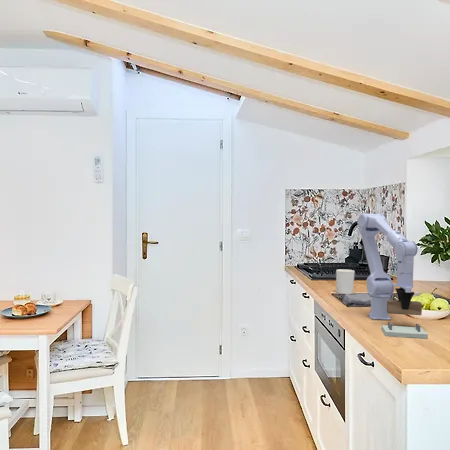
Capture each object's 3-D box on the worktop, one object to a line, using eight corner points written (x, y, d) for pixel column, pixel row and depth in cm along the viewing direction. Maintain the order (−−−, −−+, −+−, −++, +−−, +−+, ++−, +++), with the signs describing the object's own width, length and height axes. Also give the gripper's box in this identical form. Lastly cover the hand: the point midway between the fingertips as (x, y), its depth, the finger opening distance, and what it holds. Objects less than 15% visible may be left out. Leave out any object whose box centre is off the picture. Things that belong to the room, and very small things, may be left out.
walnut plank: (386, 311, 187) (387, 299, 187) (419, 313, 185) (419, 301, 185) (388, 313, 183) (388, 301, 183) (421, 315, 181) (421, 303, 181)
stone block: (373, 308, 227) (366, 300, 237) (374, 299, 226) (367, 291, 236) (349, 309, 227) (342, 300, 236) (349, 299, 225) (343, 291, 235)
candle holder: (331, 292, 257) (332, 270, 257) (341, 290, 265) (341, 268, 264) (348, 295, 251) (349, 272, 250) (357, 292, 258) (358, 270, 258)
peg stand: (381, 329, 180) (381, 319, 179) (421, 331, 177) (421, 322, 177) (385, 336, 170) (386, 326, 170) (427, 338, 167) (427, 328, 167)
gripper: (391, 270, 191) (390, 303, 192) (397, 275, 177) (396, 311, 178) (409, 270, 190) (408, 304, 191) (417, 275, 176) (416, 312, 176)
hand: (404, 308), depth 184 cm, fingers closed on walnut plank, 4 cm apart
